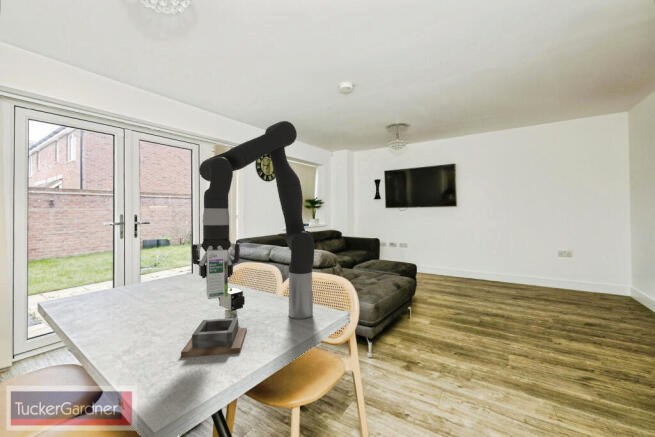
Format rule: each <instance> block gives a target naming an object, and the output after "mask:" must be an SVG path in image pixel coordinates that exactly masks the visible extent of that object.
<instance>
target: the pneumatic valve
mask: <svg viewBox="0 0 655 437" xmlns="http://www.w3.org/2000/svg"><path fill="white" fill-rule="evenodd" d="M245 297H246V296H244V291H243V290H241V289H239V288H233V286H232V287H231V286H230V287H229V286H228V297H221V298H217V299H218V301H219V307H222V308H224V309H225V310H224V315H225V316H224V319H230V318H238V319H239V317H238V310H241V309H243V308H244V305H245V304H246V303H245V302H246V301H245V299H246V298H245Z"/></svg>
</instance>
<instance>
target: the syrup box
mask: <svg viewBox="0 0 655 437" xmlns="http://www.w3.org/2000/svg"><path fill="white" fill-rule="evenodd" d="M227 256H228V254H227V250H208V251H207V260H206V264H205V265H206V278H205V280H206V281H205V282H206V296H207V299H208V300H212V299H218V298H221V297H228V288H229V277H228V257H227Z"/></svg>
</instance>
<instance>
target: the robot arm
mask: <svg viewBox="0 0 655 437" xmlns="http://www.w3.org/2000/svg"><path fill="white" fill-rule="evenodd" d="M297 135H298V134H297V129H296V127H295V125H294V124H293V123H292V122H290V121H289V120H281V121H278V122H276V123H274V124H271V125H269V126H268V127H267V128H266V129H265V131H264V133H263V134H261V135H259V136H257V137H254V138H252V139H249V140H246V141H245V142H241V143H239V144H238V145H236V146H234V147H232V148H230V149H228V150H226V151H224V152H222V153H219V154H217V155H215V156H212V157H211V156H210V157H209V158H207V159H204V161H202V162H201V163H200V165H199V169H198V171H199V175H200V177H201V178H202V179H203V180H205V181H206V182H209V186H208V188H207V189H206V190H205V191H204V193H203V214H202V243H193V244H191V255H192V263H193V265H197V266H198V267H199V275H200V277H201V278H202V279H206V260H207V251H208V250H227V254H228V256H227V257H228V278H231V277H232V276H233V274H234V265H235V264H237V263H239V261H240V255H241V254H240V252H241V243H240V242H237V243H232V242H231V240H230V212H229V211H230V210H229V194H230V189H231V187H232V182H233V177H234V176H233V175H234V172H236V171H240V170H242V169H244V168H246V167H248V166H249V165H251V164H252V163H254V162H256V161H257V160H259V159H261V158H263V157H264V156H266V155H267V154H269V158H270V160H271V164H272V169H273V172H274V174H273V175H274V178H275V183H276V188H277V195H278V199H279V202H280V208H281V211H282V215H283V219H284V225H285V236H286V245H287V247H288V249H289V251H290V263H289V265H288V316H289V317H290V318H292V319H297V320H299V319H300V320H301V319H303V320H304V319H308V318H312V317H314V310H313V309H314V305H313V304H314V291H313V267H314V264H315V241H314V237H313V235H311V233H309V232H307V231H306V229H305V224H304V221H303V205H304V204H303V202H304V201H303V200H304V199H303V198H304V196H303V191H302V190H303V189H302V186H301V181H300V178H299V176H298V174H297V173H296V171H295V170H294V169H293V168H292V166H291V165H290V163H289V161H288V159H287V155H286V149H285V148H287V147H289V146H291V145H293V144H294V142H296V140H297ZM230 248H232V250H233V251H234V257H233V258H232V257H231V254H230V253H229V250H230ZM201 249H203V250H204V252H205V253H204V255H203V257H202V258H201V259H200V251H201Z"/></svg>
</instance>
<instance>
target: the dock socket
mask: <svg viewBox="0 0 655 437" xmlns="http://www.w3.org/2000/svg"><path fill="white" fill-rule="evenodd" d="M247 329H248V327H239V317H238V318H230V319H225V318H218V319H216V318H214V319H203V320H202V321H201V322H200V323H199V325H198V326H197V327H196V329H195V330H194V331H193V333H192V334H191V337H190V339H189V340H188V342H187V343H186V345H185V346H184V347H183V349H182V350H181V351H180V358H187V357H202V356H203V357H204V356H215V355H216V356H217V355H230V354H231V355H232V354H241V351H242V348H243V345H244V343H245V339H246V335H247V332H248V331H247Z"/></svg>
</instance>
